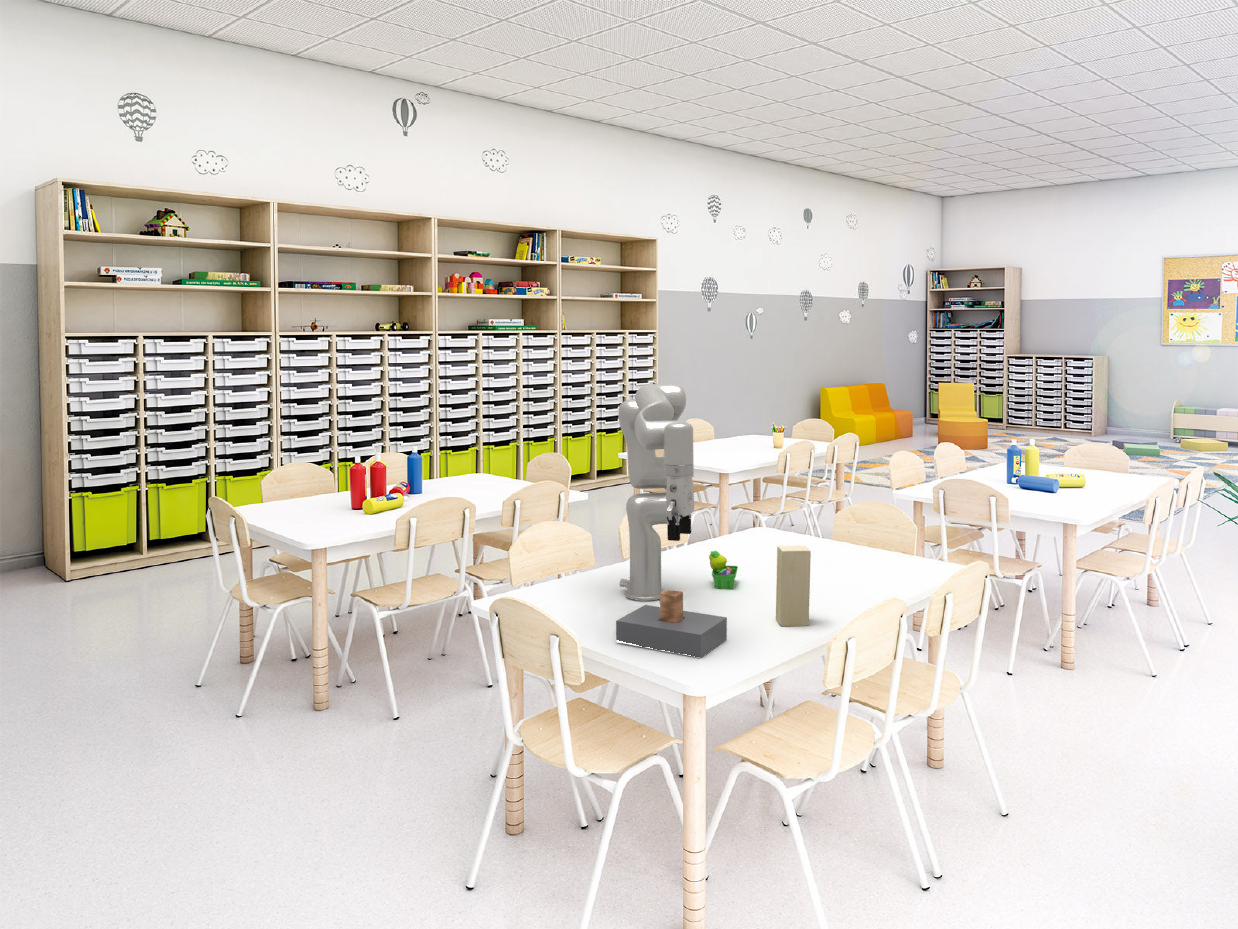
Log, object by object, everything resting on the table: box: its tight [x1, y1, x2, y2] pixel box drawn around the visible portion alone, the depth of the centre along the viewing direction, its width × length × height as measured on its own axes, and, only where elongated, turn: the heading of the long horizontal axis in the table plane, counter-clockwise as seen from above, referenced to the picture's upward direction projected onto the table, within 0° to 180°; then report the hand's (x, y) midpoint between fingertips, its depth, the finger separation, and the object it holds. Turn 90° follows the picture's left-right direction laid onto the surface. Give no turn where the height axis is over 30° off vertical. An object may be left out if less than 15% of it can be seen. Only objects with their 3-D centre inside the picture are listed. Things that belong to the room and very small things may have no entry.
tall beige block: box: [775, 545, 812, 627], centre depth 252 cm, size 8×7×21 cm
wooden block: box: [659, 589, 684, 623], centre depth 238 cm, size 4×4×13 cm
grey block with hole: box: [615, 604, 728, 658], centre depth 238 cm, size 24×16×6 cm, turn 60°
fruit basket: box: [708, 550, 739, 590], centre depth 291 cm, size 11×9×11 cm
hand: (679, 537), depth 237 cm, fingers open, 9 cm apart
